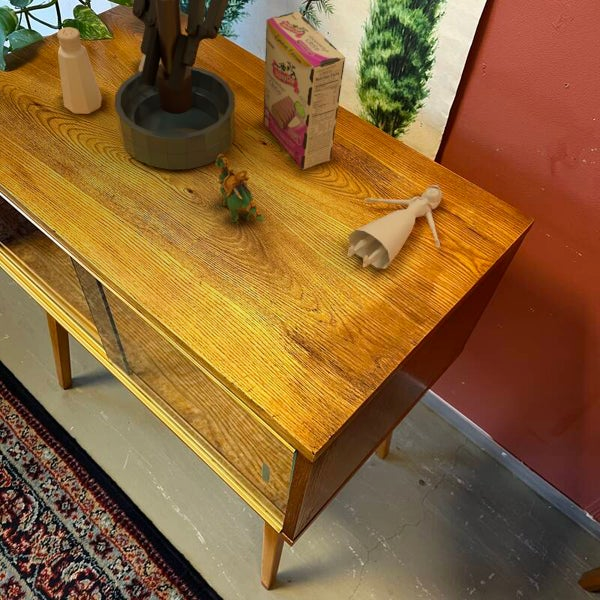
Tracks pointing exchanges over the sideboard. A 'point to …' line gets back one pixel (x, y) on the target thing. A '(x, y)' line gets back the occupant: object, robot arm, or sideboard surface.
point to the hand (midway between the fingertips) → (160, 86)
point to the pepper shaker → (77, 74)
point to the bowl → (176, 122)
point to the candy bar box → (301, 88)
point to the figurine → (236, 190)
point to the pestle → (171, 58)
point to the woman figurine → (392, 228)
